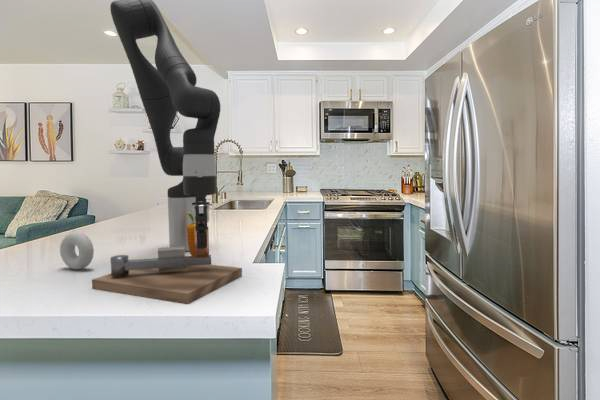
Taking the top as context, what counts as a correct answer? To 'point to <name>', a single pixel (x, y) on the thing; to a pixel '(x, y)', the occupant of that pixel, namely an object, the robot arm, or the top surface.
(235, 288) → the top surface
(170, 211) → the robot arm
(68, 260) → the donut
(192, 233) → the carrot
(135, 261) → the lever
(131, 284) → the press board
